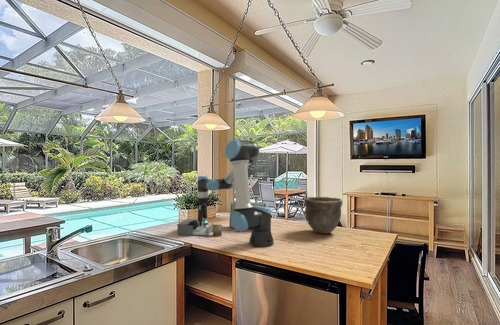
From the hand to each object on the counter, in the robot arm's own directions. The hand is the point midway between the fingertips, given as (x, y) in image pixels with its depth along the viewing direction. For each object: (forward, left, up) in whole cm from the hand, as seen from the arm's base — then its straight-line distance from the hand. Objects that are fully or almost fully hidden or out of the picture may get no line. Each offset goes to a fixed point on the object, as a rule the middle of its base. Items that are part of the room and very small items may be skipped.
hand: (202, 228), depth 197 cm
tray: (0, +1, -3) cm, 3 cm away
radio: (+17, -31, -3) cm, 36 cm away
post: (-6, -12, -3) cm, 14 cm away
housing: (0, +9, -3) cm, 9 cm away
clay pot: (+11, -86, -3) cm, 87 cm away
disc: (0, 0, +4) cm, 4 cm away
